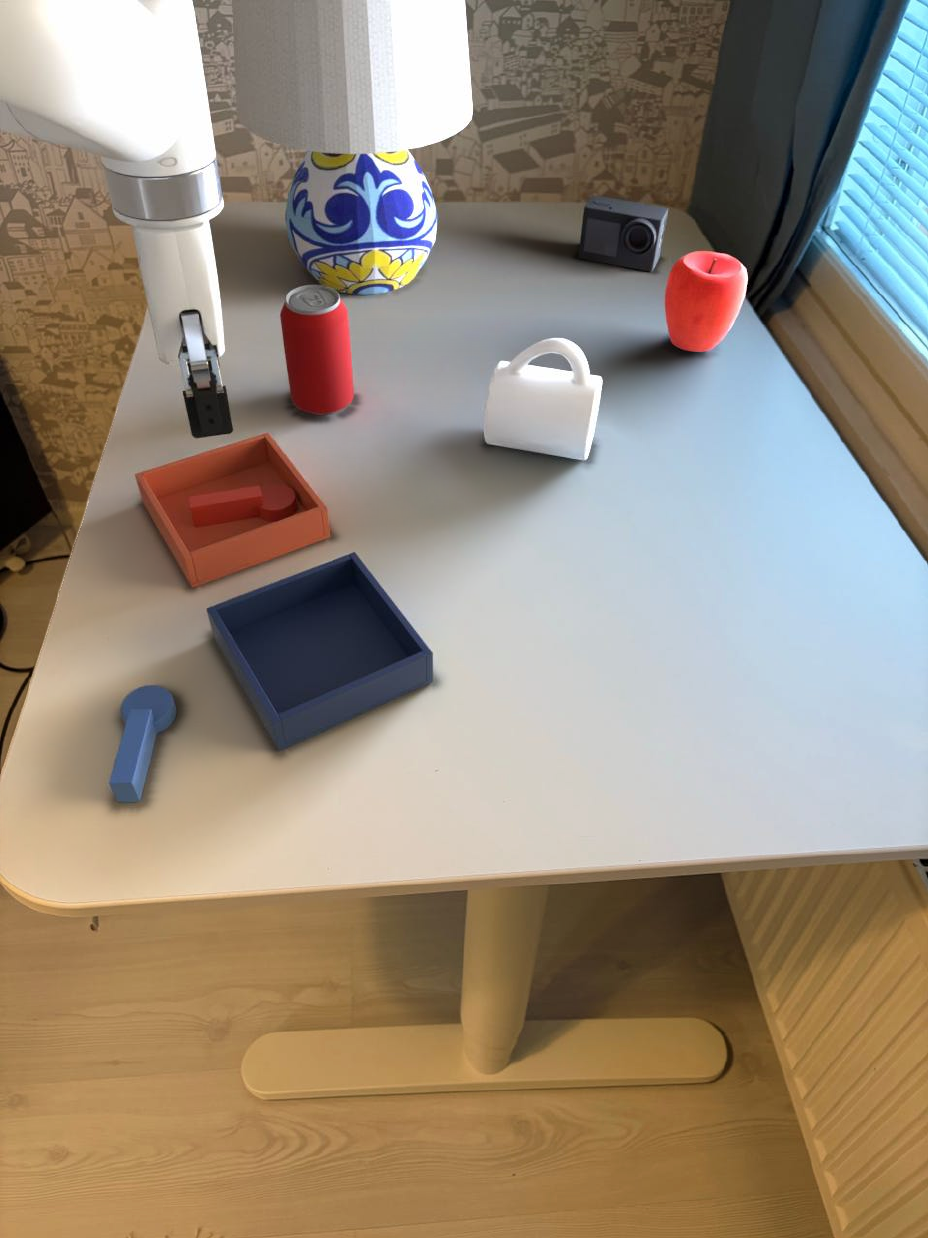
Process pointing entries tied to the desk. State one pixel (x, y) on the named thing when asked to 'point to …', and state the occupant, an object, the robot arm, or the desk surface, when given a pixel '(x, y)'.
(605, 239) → the digital camera
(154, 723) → the blue spoon
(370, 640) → the blue bin
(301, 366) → the beverage can
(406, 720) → the desk surface
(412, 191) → the table lamp
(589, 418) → the white handbag
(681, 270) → the apple
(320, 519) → the red bin
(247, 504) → the red spoon
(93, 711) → the desk surface
